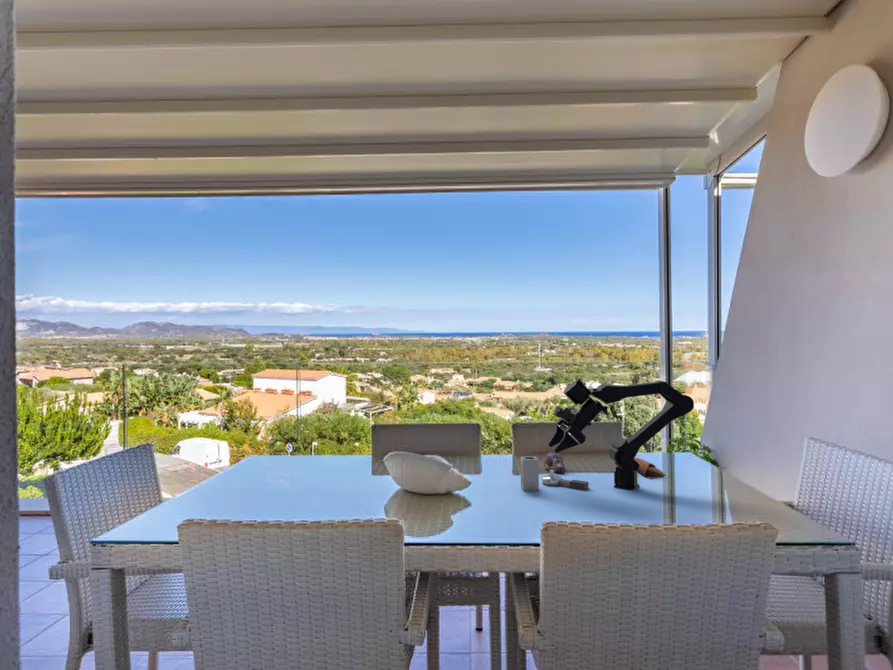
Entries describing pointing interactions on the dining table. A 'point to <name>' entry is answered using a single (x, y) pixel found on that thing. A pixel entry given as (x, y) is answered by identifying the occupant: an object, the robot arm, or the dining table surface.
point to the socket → (530, 473)
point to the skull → (554, 462)
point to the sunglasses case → (648, 469)
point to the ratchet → (563, 482)
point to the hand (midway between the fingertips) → (552, 448)
